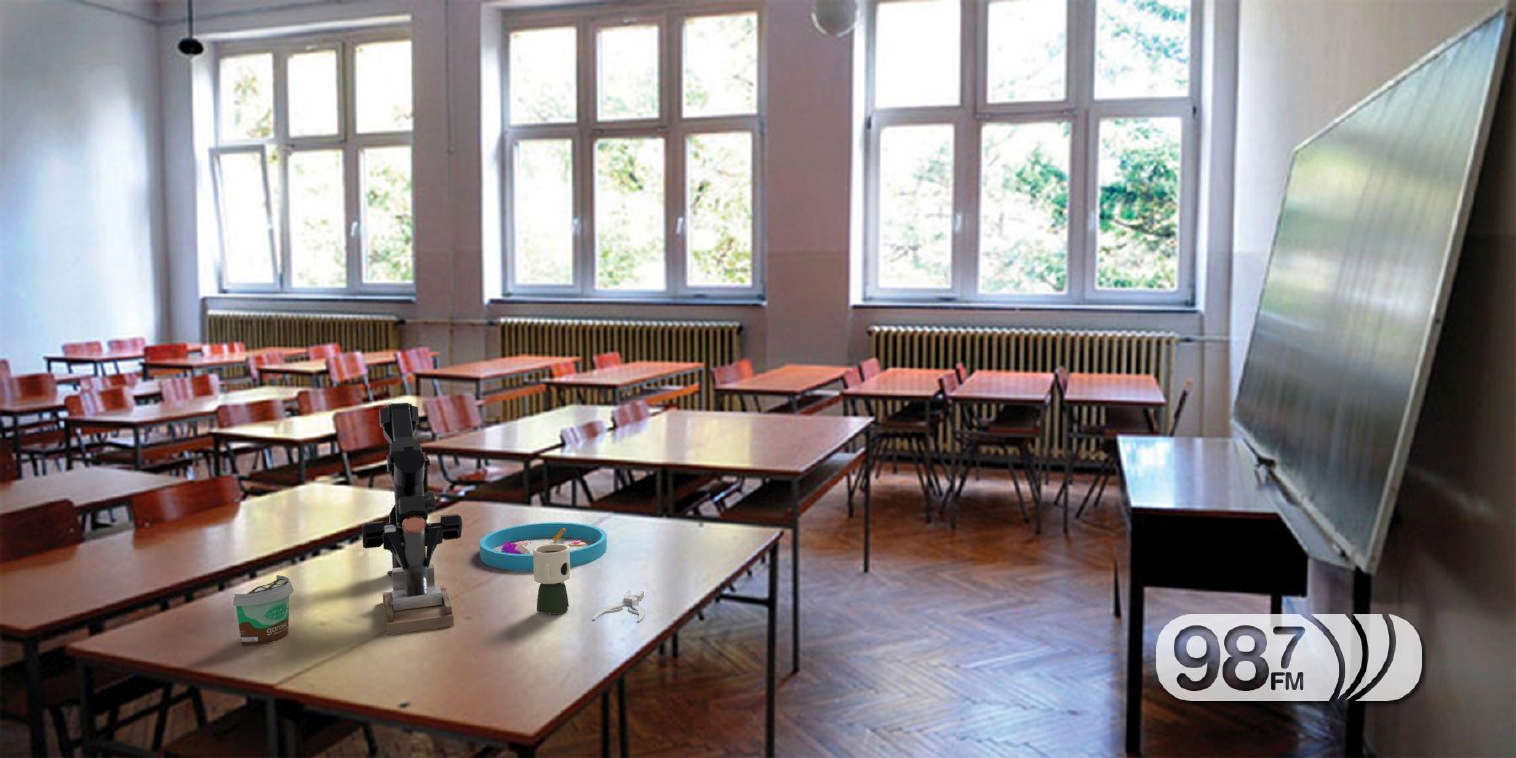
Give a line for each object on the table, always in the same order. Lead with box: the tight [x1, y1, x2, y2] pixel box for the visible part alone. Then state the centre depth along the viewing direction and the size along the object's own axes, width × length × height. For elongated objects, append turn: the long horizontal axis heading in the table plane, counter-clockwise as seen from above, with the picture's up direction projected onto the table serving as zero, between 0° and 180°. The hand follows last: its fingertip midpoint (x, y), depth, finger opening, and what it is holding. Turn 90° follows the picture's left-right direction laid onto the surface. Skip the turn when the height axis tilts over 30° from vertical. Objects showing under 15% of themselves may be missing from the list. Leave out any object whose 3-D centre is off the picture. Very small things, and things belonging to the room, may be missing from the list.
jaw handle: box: [391, 514, 442, 611], centre depth 193 cm, size 5×9×18 cm, turn 113°
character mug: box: [532, 543, 571, 616], centre depth 195 cm, size 11×7×13 cm, turn 2°
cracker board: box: [382, 563, 455, 635], centre depth 195 cm, size 20×12×7 cm, turn 23°
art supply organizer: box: [479, 521, 608, 572], centre depth 238 cm, size 30×30×6 cm
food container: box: [232, 574, 294, 647], centre depth 183 cm, size 12×6×10 cm, turn 168°
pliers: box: [592, 589, 646, 623], centre depth 198 cm, size 10×2×15 cm
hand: (416, 568), depth 192 cm, fingers closed on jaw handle, 4 cm apart
